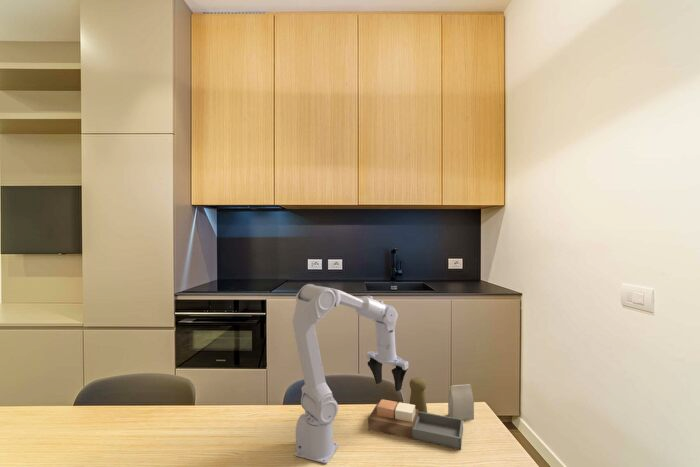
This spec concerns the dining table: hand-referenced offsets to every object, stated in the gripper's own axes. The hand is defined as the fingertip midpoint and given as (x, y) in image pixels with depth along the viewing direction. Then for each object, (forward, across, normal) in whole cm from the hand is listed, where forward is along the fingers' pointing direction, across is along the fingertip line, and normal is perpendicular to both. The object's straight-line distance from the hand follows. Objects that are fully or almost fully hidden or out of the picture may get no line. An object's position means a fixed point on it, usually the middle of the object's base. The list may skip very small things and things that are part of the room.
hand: (388, 386), depth 105 cm
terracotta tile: (+7, -1, +2) cm, 7 cm away
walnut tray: (+10, -3, +2) cm, 11 cm away
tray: (+11, -15, -3) cm, 19 cm away
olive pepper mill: (+11, -4, -9) cm, 15 cm away
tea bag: (+12, -15, -16) cm, 25 cm away
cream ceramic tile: (+7, -6, 0) cm, 9 cm away
